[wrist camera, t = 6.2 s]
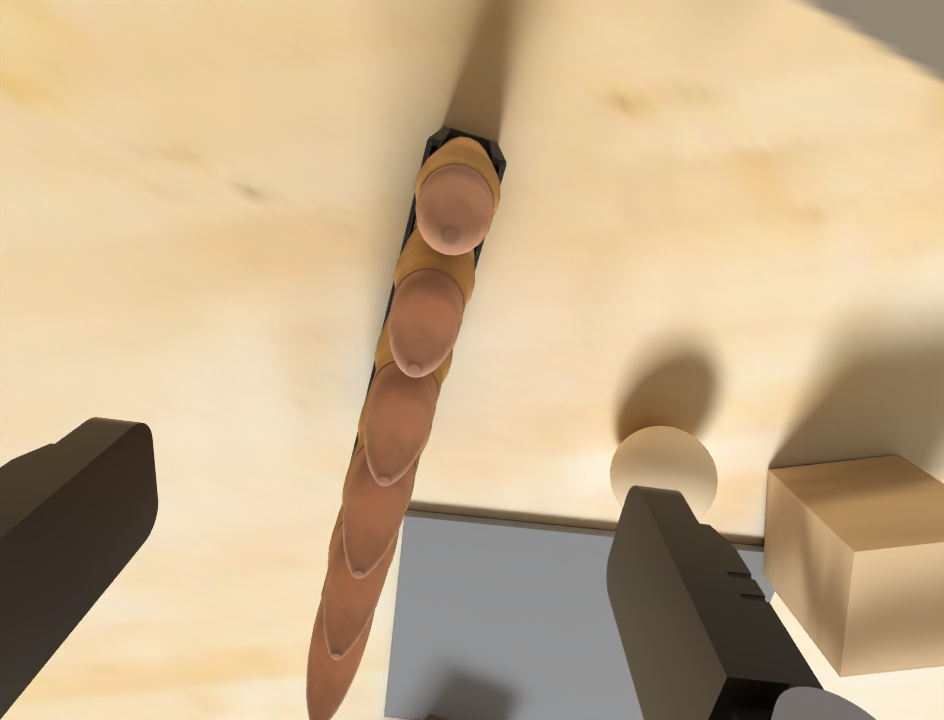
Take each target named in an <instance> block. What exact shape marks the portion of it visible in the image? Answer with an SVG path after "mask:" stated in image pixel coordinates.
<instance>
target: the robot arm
mask: <svg viewBox="0 0 944 720" xmlns="http://www.w3.org/2000/svg"><path fill="white" fill-rule="evenodd" d="M157 510H158V495H157V483H156V472H155V461H154V450H153V439H152V433H151V430H150V428H149V427H148V426H147V425H146V424H145V423H139V422H131V421H123V420H115V419H107V418H99V417H95V418H91V419H89V420H87V421H85V422H84V423H83V424H81V425H80V426H79V427H77V428H76V429H75V430H73V431H72V432H71V433H69V434H68V435H66V436H65V437H64V438H62V439H61V440H60V441H58V442H57V443H56V444H48V445H46V446H44V447H41V448H39V449H36V450H34V451H32V452H29V453H27V454H24V455H22V456H20V457H17V458H15V459H12V460H11V461H9V462H8V463H6V464H5V465H3V466H2V467H1V468H0V719H1V718H2V717H3V715H4V714H5V713H6V712H7V711H8V709H9V708H10V707H11V706H12V704H13V703H14V702H15V701H16V700H17V698H18V697H19V696H20V695H21V693H22V692H23V691H24V690H25V688H26V687H27V686H28V685H29V684H30V682H31V681H32V680H33V679H34V677H35V676H36V675H37V674H38V673H39V671H40V670H41V669H42V668H43V666H44V665H45V664H46V663H47V661H48V660H49V659H50V658H51V657H52V655H53V654H54V653H55V652H56V650H57V649H58V648H59V647H60V645H61V644H62V643H63V642H64V641H65V639H66V638H67V637H68V636H69V634H70V633H71V632H72V631H73V630H74V628H75V627H76V626H77V625H78V623H79V622H80V621H81V620H82V618H83V617H84V616H85V615H86V614H87V612H88V611H89V610H90V609H91V607H92V606H93V605H94V604H95V602H96V601H97V600H98V599H99V598H100V596H101V595H102V594H103V593H104V591H105V590H106V589H107V588H108V587H109V585H110V584H111V583H112V582H113V580H114V579H115V578H116V577H117V575H118V574H119V573H120V572H121V571H122V569H123V568H124V567H125V566H126V564H127V563H128V562H129V561H130V560H131V558H132V557H133V556H134V555H135V553H136V552H137V551H138V550H139V548H140V547H141V546H142V545H143V544H144V542H145V541H146V540H147V538H148V536H149V535H150V533H151V531H152V528H153V526H154V523H155V520H156V516H157ZM751 575H752V574H751V572H750V571H749V569H748V568H747V566H746V564H745V563H744V561H743V560H742V558H741V556H740V555H739V553H738V552H737V550H736V548H735V547H733V546H732V545H731V544H730V543H729V542H728V541H727V540H726V539H725V538H723V537H722V536H721V535H720V534H719V533H718V532H717V531H716V530H715V529H713V528H712V527H711V526H710V525H706V524H699V522H698V521H697V519H696V517H695V515H694V514H693V512H692V510H691V508H690V507H689V505H688V503H687V501H686V500H685V498H684V496H683V495H682V493H681V492H679V491H677V490H669V489H661V488H653V487H645V486H637V485H634V486H632V487H631V488H630V490H629V491H628V493H627V496H626V499H625V502H624V506H623V509H622V513H621V516H620V519H619V523H618V526H617V529H616V533H615V536H614V540H613V543H612V546H611V550H610V553H609V557H608V562H607V573H606V580H607V591H608V596H609V600H610V603H611V607H612V610H613V614H614V617H615V621H616V624H617V628H618V631H619V635H620V638H621V642H622V645H623V649H624V652H625V656H626V659H627V663H628V666H629V670H630V673H631V677H632V680H633V684H634V687H635V691H636V694H637V698H638V701H639V705H640V708H641V712H642V715H643V719H644V720H876V719H875V718H874V717H872V716H871V715H870V714H868V713H867V712H866V711H864V710H863V709H861V708H860V707H858V706H856V705H855V704H853V703H852V702H850V701H848V700H846V699H844V698H842V697H840V696H838V695H836V694H833V693H831V692H828V691H825V690H824V689H823V687H822V686H821V684H820V683H819V681H818V679H817V678H816V676H815V675H814V673H813V671H812V670H811V668H810V667H809V665H808V663H807V662H806V660H805V659H804V657H803V655H802V654H801V652H800V651H799V649H798V647H797V646H796V644H795V643H794V641H793V639H792V638H791V636H790V635H789V633H788V631H787V630H786V628H785V627H784V625H783V623H782V622H781V620H780V619H779V617H778V615H777V614H776V612H775V611H774V609H773V608H772V606H771V604H770V603H769V602H766V601H765V597H766V596H765V595H764V593H763V592H762V590H761V588H760V587H759V585H758V584H757V582H756V580H755V579H752V578H751Z"/></svg>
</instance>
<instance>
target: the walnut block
mask: <svg viewBox="0 0 944 720" xmlns="http://www.w3.org/2000/svg"><path fill="white" fill-rule="evenodd" d="M425 720H447V719H444V718H440V717H437V716H434V715H431V714H429V715H428V716H427V717H426V719H425Z"/></svg>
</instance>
